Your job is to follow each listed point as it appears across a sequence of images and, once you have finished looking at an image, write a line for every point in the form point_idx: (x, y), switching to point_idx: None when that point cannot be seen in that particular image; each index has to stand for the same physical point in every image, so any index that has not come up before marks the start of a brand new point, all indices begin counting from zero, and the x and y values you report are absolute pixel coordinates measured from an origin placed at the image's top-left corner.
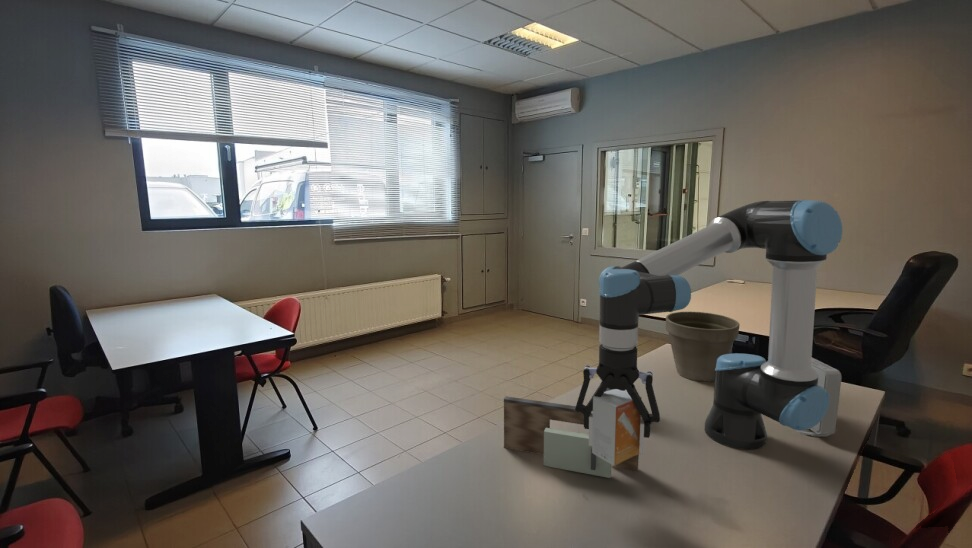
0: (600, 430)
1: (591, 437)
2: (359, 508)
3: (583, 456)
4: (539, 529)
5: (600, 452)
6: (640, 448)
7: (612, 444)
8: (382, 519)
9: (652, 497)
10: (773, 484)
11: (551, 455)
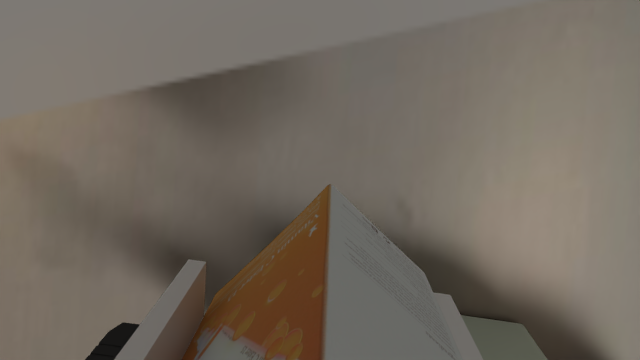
0: (422, 332)
1: (450, 323)
2: None
3: None
4: (555, 41)
5: (394, 251)
6: (192, 276)
7: (343, 236)
8: None
9: (219, 239)
10: None
11: (515, 347)
